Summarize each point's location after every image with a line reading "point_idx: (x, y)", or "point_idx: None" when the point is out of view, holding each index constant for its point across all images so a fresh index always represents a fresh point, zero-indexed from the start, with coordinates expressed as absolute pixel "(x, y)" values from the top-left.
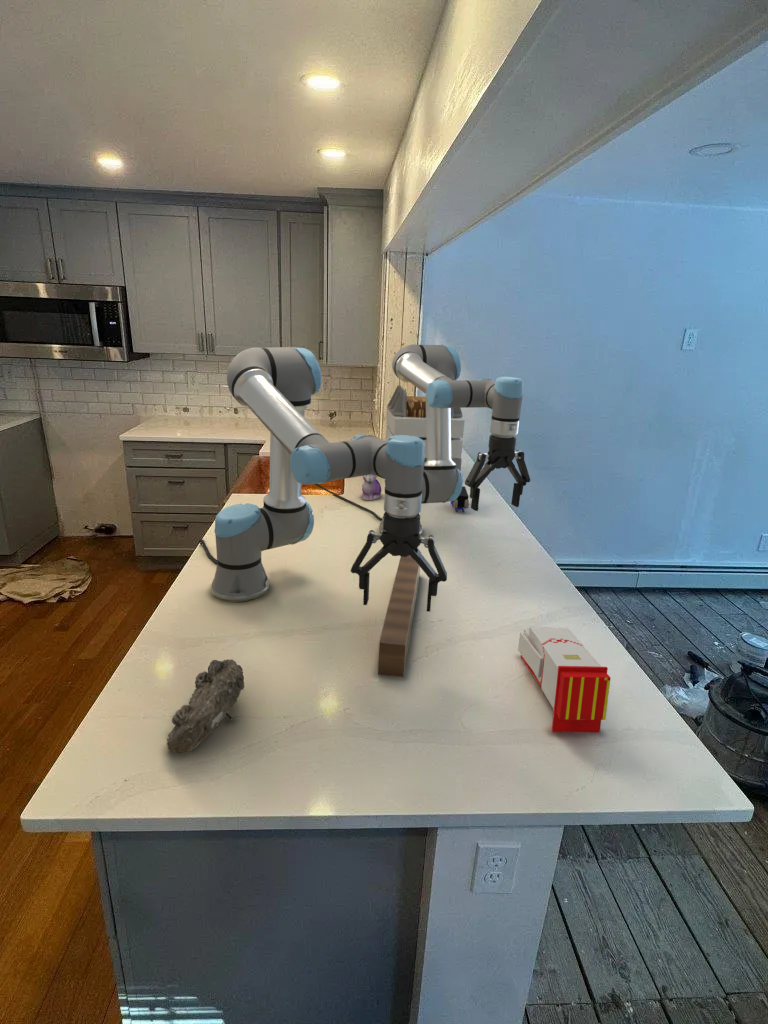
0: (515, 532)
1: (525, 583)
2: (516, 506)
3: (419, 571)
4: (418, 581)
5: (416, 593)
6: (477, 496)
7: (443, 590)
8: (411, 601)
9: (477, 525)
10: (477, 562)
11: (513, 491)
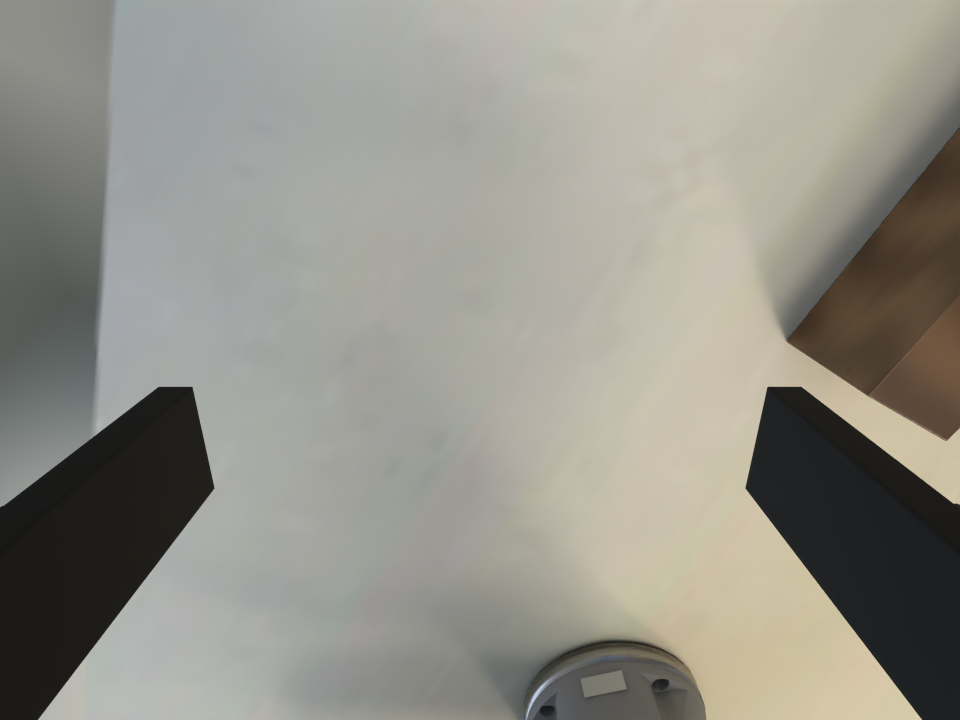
0: None
1: (323, 120)
2: (188, 391)
3: (841, 321)
4: (843, 281)
5: (948, 157)
6: (950, 510)
7: (771, 179)
8: None
9: (260, 693)
10: (444, 396)
11: (105, 613)
